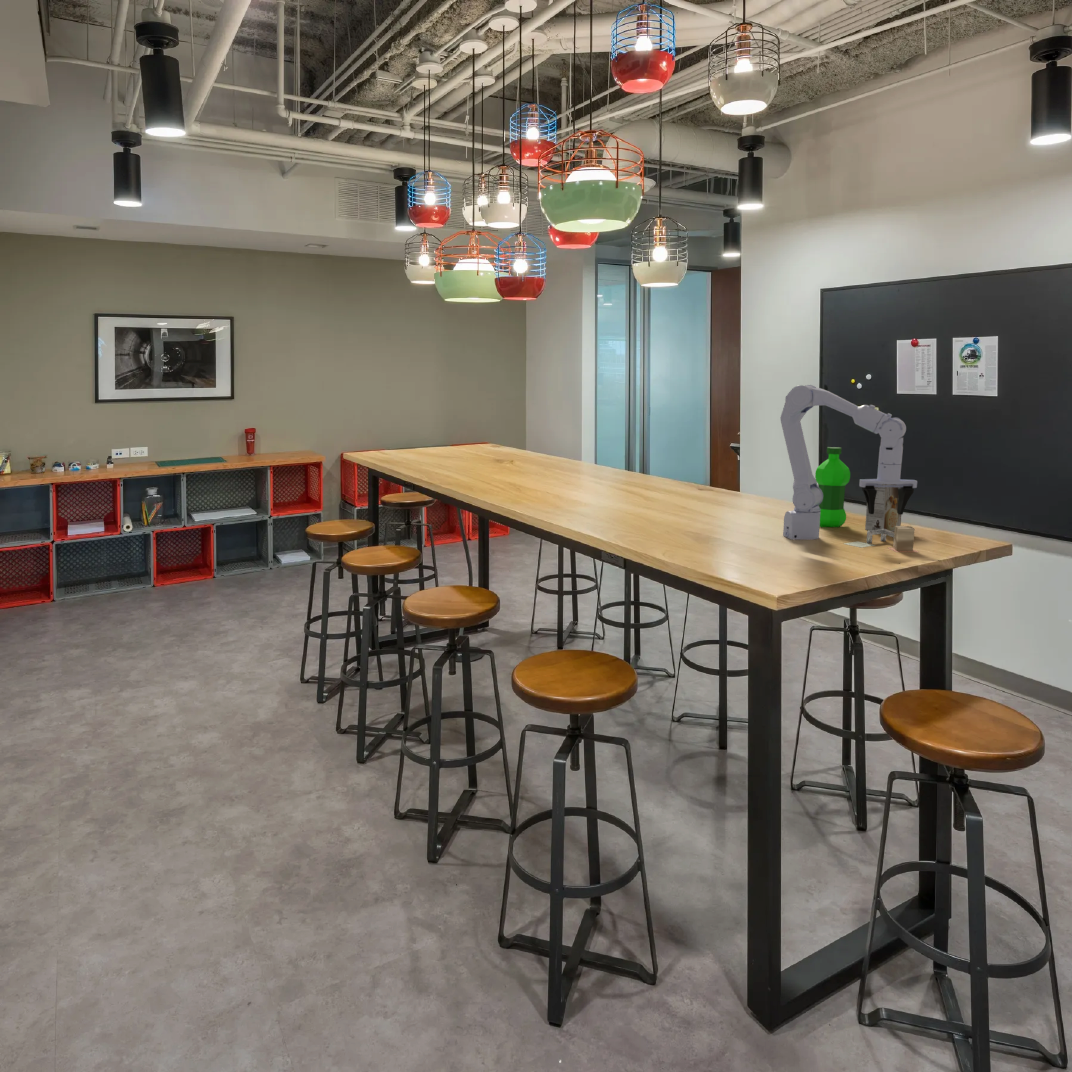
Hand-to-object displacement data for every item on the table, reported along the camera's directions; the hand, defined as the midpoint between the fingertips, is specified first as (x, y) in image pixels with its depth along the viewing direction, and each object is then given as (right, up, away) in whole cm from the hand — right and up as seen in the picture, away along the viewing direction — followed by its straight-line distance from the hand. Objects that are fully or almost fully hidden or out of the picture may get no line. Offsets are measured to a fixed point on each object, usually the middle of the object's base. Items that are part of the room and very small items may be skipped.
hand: (885, 513), depth 221 cm
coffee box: (+10, -5, +25) cm, 27 cm away
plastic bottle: (-3, -4, +33) cm, 34 cm away
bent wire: (0, -8, +3) cm, 9 cm away
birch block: (+3, -10, -5) cm, 11 cm away
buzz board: (-2, -10, 0) cm, 10 cm away
